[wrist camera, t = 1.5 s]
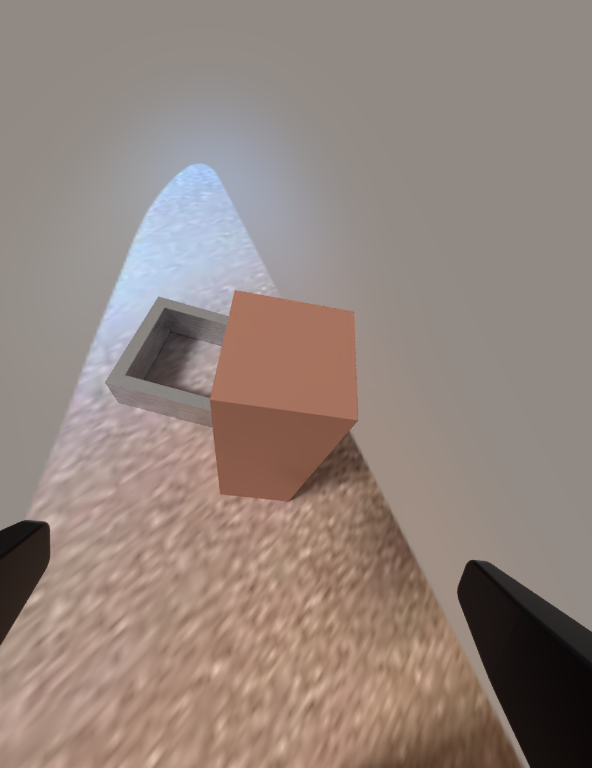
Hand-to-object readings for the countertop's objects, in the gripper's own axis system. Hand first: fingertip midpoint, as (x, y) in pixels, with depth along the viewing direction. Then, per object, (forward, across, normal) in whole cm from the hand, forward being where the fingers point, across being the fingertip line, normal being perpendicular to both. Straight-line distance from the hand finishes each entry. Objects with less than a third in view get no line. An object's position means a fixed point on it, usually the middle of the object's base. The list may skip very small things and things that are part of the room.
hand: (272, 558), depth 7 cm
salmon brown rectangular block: (+12, 0, +5) cm, 13 cm away
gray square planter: (+16, +5, 0) cm, 17 cm away
